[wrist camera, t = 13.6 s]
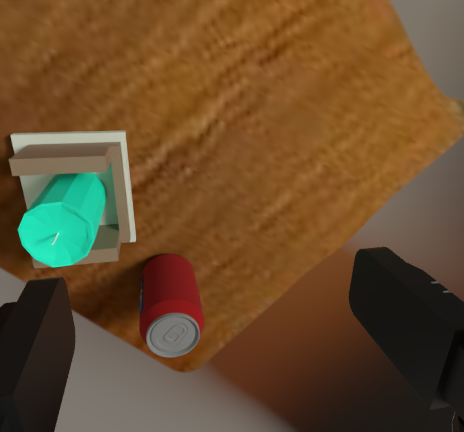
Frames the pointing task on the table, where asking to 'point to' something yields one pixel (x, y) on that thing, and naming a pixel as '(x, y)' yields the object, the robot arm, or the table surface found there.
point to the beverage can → (170, 306)
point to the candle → (64, 219)
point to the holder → (81, 161)
